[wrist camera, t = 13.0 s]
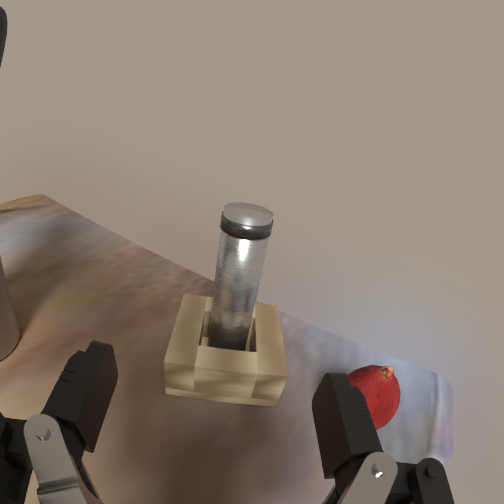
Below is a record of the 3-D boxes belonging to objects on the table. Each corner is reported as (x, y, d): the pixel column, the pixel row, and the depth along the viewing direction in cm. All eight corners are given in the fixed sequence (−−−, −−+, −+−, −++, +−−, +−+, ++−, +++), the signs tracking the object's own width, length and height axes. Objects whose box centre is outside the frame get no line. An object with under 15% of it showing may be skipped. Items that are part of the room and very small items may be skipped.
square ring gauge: (165, 393, 23) (163, 361, 22) (182, 325, 32) (184, 293, 31) (275, 406, 24) (288, 375, 22) (269, 336, 33) (277, 305, 31)
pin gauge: (203, 368, 26) (220, 214, 20) (207, 342, 29) (224, 199, 23) (244, 373, 26) (276, 222, 20) (244, 346, 30) (272, 206, 23)
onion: (309, 420, 23) (341, 362, 20) (344, 390, 27) (376, 333, 23) (356, 458, 19) (403, 406, 16) (387, 421, 23) (428, 367, 20)
